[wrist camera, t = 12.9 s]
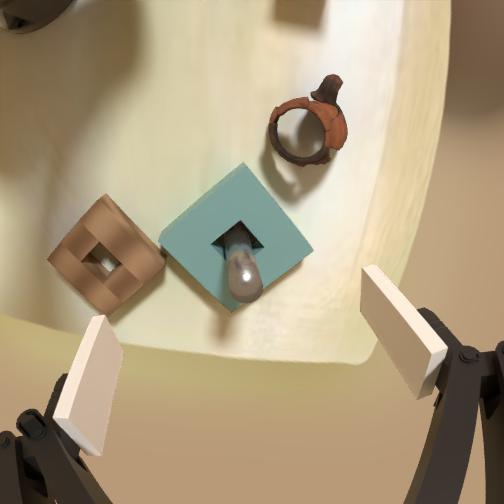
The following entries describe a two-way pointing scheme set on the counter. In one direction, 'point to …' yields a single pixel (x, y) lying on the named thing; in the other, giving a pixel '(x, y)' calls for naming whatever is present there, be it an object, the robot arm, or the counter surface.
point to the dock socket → (223, 218)
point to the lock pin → (242, 266)
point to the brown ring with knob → (325, 112)
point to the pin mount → (118, 244)
